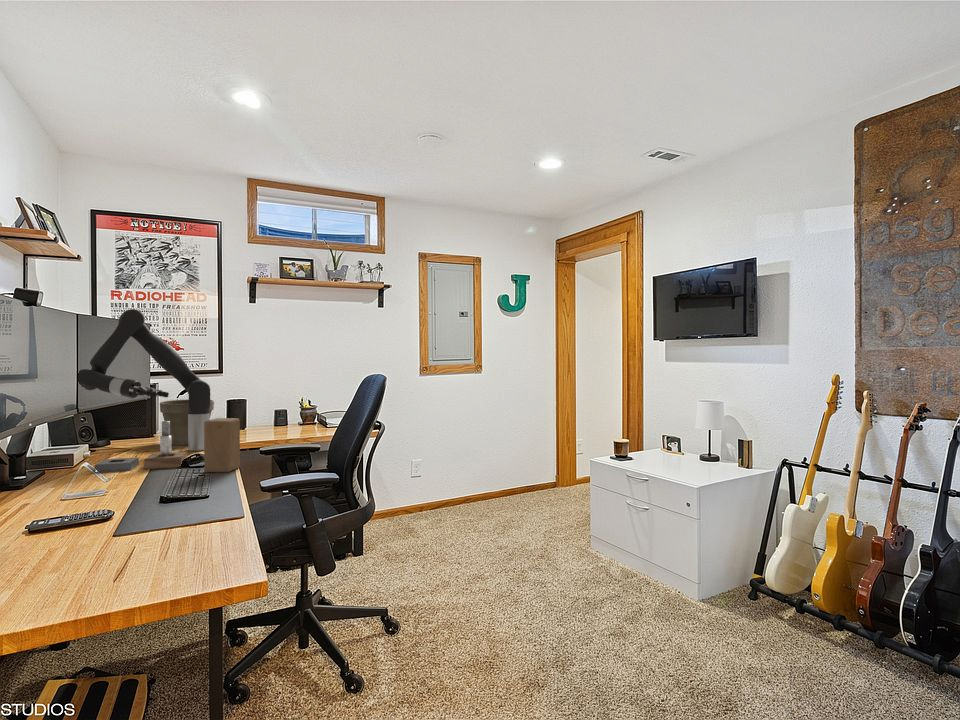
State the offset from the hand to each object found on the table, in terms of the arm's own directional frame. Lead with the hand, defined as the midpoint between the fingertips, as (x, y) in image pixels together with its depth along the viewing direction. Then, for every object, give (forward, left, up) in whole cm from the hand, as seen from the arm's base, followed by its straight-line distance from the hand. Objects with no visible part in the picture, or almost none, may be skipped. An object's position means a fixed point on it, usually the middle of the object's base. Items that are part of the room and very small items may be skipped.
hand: (162, 394), depth 231 cm
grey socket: (+10, -14, -28) cm, 33 cm away
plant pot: (-52, +1, -29) cm, 59 cm away
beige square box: (+9, +3, -28) cm, 30 cm away
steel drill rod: (+9, +3, -28) cm, 30 cm away
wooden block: (+28, +26, -29) cm, 48 cm away
